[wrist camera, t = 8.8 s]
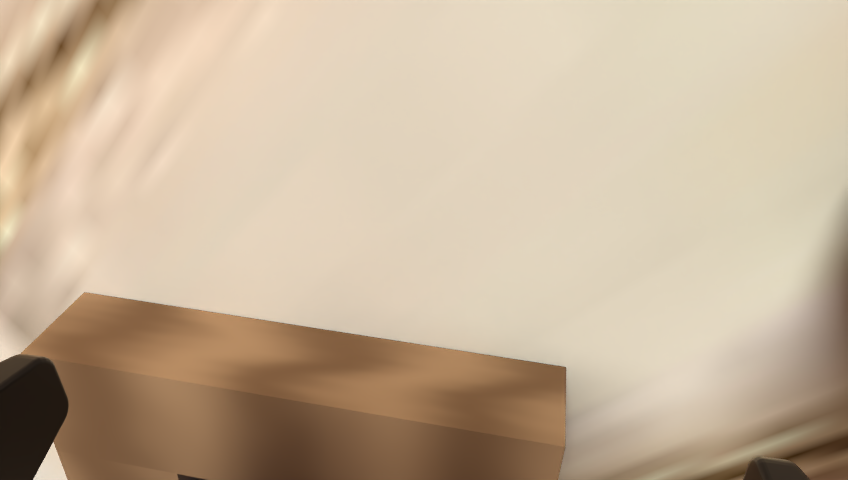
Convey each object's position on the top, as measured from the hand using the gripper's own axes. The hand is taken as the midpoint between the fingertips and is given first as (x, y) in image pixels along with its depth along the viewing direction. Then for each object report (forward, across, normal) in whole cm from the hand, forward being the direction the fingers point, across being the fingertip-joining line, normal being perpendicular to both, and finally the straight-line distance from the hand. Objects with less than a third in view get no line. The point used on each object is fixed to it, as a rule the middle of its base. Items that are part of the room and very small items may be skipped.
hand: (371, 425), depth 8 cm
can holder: (+12, +6, +18) cm, 22 cm away
